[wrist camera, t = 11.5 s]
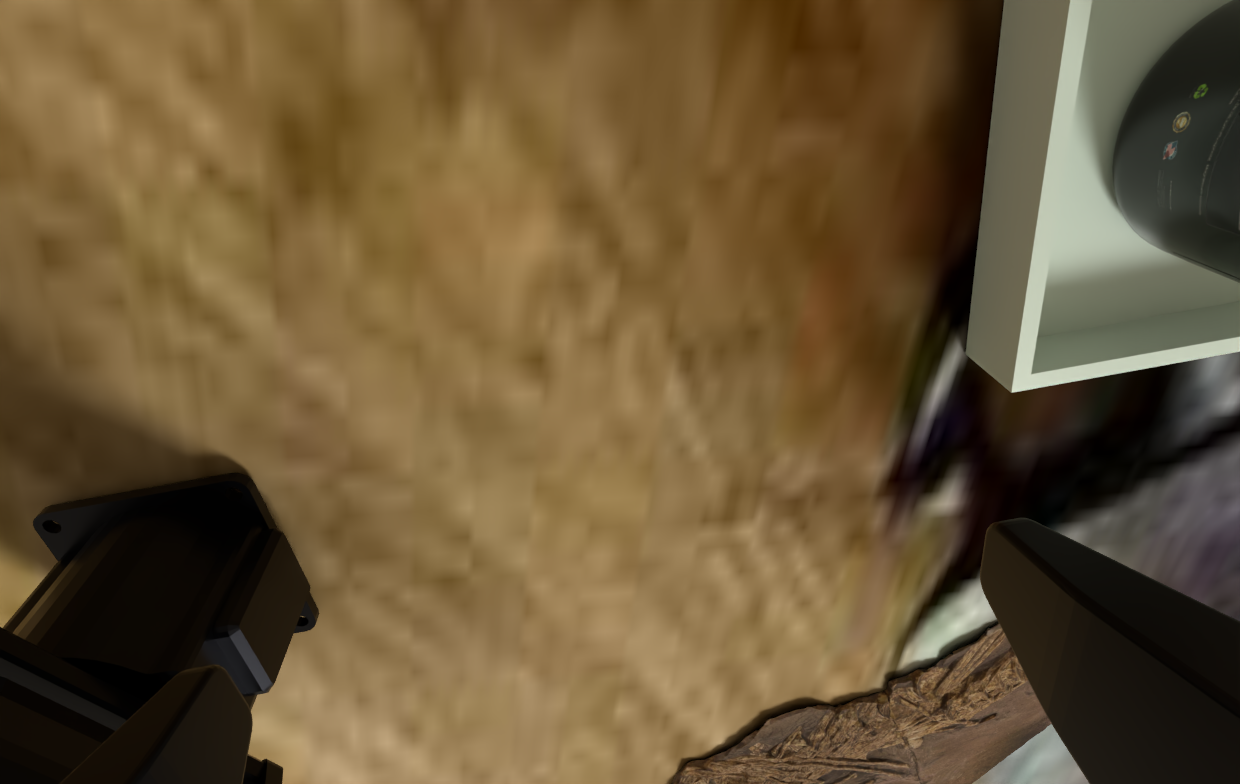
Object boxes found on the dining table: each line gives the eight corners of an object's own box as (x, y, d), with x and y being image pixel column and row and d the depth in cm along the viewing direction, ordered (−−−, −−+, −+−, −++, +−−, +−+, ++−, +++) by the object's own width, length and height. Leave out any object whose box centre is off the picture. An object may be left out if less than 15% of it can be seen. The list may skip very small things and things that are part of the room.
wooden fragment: (1099, 568, 28) (1118, 588, 27) (1133, 715, 34) (1149, 736, 33) (540, 801, 32) (540, 824, 31) (648, 900, 38) (650, 923, 37)
